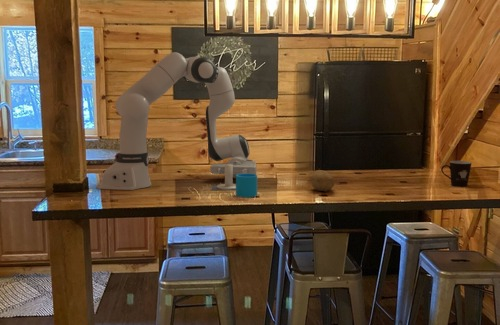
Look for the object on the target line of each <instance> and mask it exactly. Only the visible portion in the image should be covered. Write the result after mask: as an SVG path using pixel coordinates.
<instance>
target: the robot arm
mask: <svg viewBox="0 0 500 325" xmlns="http://www.w3.org/2000/svg"><path fill="white" fill-rule="evenodd" d="M181 78H183V79H184V80H186V81H188V82H193V83H195V84H197V83H198V84H199V83H202V84H205V85H206V88H207V91H208V96H209V103H208V105H207V106H206V107H205V123H206V135H207V154H208V156H209V158H210V159H211V160H213V161H215V162H219V161H224V160H226V159H229V160H228V161H227V163H213V164H211V165H210V167H209V168H210V174H213V175H225V164H233V178H236V175H237V174H256V175H258V174H257V172H258V170H257V163H256V161H255V160H251V159H249V156H250V146H249V143H248V142H249V141H248V140H247V139H246V138H245V136H243V135H242V134H236V135H230V136H227V137H222V138H218V134H217V124H216V123H217V122H216V121H217V119H218V118H219V117H220V116H222V115H224V114H225V113H226V112H228V111H229V110H230V109H231V108H232V107H233V106H234V105H235V102H236V98H235V91H234V88H233V85H232V81H231V78H230V76H229V74H228V72H227V69H225V68H224V67H221V66H216V65H215V64H214V62H213V61H212V60H211V59H209V58H207V57H205V56H204V57H203V56H188V57H185V56H183V54H181V53H179V52H175V51H174V52H171V53H169V54H167V55H166V56H164V57H163V58H162V59H161V60H159V61H158V62H157V63H156V64H155V65H153V66H152V68H151V69H150V70H148V71H147V72H146V73H145V74H144V75H143V76H142V77H141V78H140V79H139V80H137V81H136V82H135V83H133V84H132V85H131V86H130V87H128V89H127V90H125V91H124V92H123V93H122V94H120V96H118V97H117V99H116V101H115V110H116V112H117V114H118V115H119V116H120V129H119V134H118V137H119V152H116V154H115V156H114V159H115V162H114V163H112V165H110V166H109V167H108V168H106V170H104V171H103V174H102V176H101V177H102V178H101V181H100V182H98V183H97V184H96V188H97V189H98V190H120V191H122V190H124V191H133V190H137V189H145V188H149V187H151V186H152V185H153V184H152V181H151V179H150V174H149V152H148V150H147V148H148V145H147V144H148V143H147V141H148V140H147V131H148V122H149V113H150V106H151V105H152V104H153V103H155V102H156V101H158V100H159V99H161V98H162V97H163V96H164V95H165V94H166V93H167V92H168V91H169V90H170V89H171V88H172V87H173V86H174V85H175V84H176V83H177V82H178V80H180V79H181Z"/></svg>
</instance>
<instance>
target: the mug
mask: <svg viewBox="0 0 500 325" xmlns="http://www.w3.org/2000/svg"><path fill="white" fill-rule="evenodd" d="M235 184H236V190H235V196H236V197H238V198H239V197H240V198H254V197H256V196H258V174H237V175H236V177H235Z"/></svg>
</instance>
